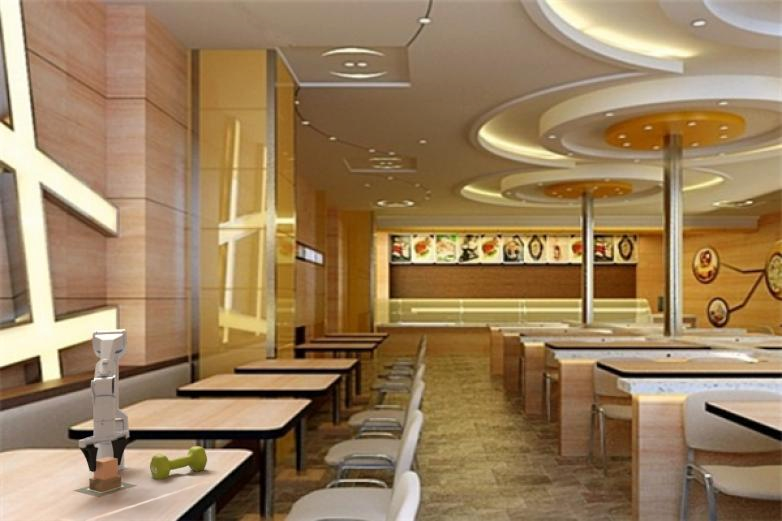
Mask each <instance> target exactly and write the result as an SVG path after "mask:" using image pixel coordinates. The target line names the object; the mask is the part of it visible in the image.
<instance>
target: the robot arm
mask: <svg viewBox="0 0 782 521" xmlns="http://www.w3.org/2000/svg"><path fill="white" fill-rule="evenodd" d="M127 332H128V331H127V330H126V329H125V328H122V329H109V330H107V329H105V330H96V329H95V330H94V331H93V332H92V336H91V337H92V338H91V340H92V348H93V353H94V354H95V357H97V358H99V359H100V360H98V361H97V362H96V363H95V368H94V369H95V370H94V377H93V379H92V380H91V382H90V395H91V405H93V407H92V408H93V411H92V414H93V419H92V420H93V422H92V423H93V435H91V436H88V437H85V438H82V439H79V440H78V448H80V449H79V450H80V451H81V452H82V454H83V456H84V459H85V460H86V462H87V465H88V470H89V471H88V472H91V473H92V472H93V473H94V472H95V471H96V460H97V459H101V458H105V457H112V458H117V459H118V471H120V470H123V469H128V468H131V466H129V465H125V450H126V448H127V446H128V444H129V438H130V430H129V416H128V414H127V413H126V412H125V411H123V410H122V409H120V408H119V406H120V404H119V403H120V402H119V400H120V399H119V398H120V397H119V393H120V392H119V390H120V389H119V388H120V387H119V384H120V383H119V378H120V377H119V374H120V373H119V372H120V371H119V367H120V366H119V363H120V360H121V358H122V357H123V356H125V355H126V354H127V351H128V347H127V345H128V334H127Z"/></svg>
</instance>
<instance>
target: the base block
mask: <svg viewBox="0 0 782 521" xmlns="http://www.w3.org/2000/svg"><path fill="white" fill-rule="evenodd" d="M88 480H89V482H88V483H89V484H88V486H89V489H91V490H95V491H99V492H104V491H108V490H111V489H115V488H118V487H121V482H122V476H121V475H119V474H118V477H114V478H110V479H107V480H99V479H95V478H94V476H93V477H89V479H88Z"/></svg>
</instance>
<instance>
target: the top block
mask: <svg viewBox="0 0 782 521" xmlns="http://www.w3.org/2000/svg"><path fill="white" fill-rule="evenodd" d="M118 475H119V470H118V459H117V458H112V457H105V458H101V459H97V460H96V471H95V472H93V477H94V478H95V479H99V480H107V479H110V478H114V477H118Z"/></svg>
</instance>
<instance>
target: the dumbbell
mask: <svg viewBox="0 0 782 521" xmlns="http://www.w3.org/2000/svg"><path fill="white" fill-rule="evenodd" d="M207 462H208V456H207V453H206V450H205V448H204V447H202V446H198V445H195V446H192V447H190V449H189V450H188V452H187V455H186V456H181V457H180V456H179V457H175V458H173V459H169V458H168V457H167V455H165V454H155V455H153V456H152V457H151V461H150V463H149V469H150V473H151V476H152V478H153V479H156V480H164V479H167V478H169V476H170V472H171V471H174V470H177V469H181V468H182V469H183V468H186V467H189V469H190V470H192V471H193V472H201V471H202V472H203V471H204V469H206V466H207Z"/></svg>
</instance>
